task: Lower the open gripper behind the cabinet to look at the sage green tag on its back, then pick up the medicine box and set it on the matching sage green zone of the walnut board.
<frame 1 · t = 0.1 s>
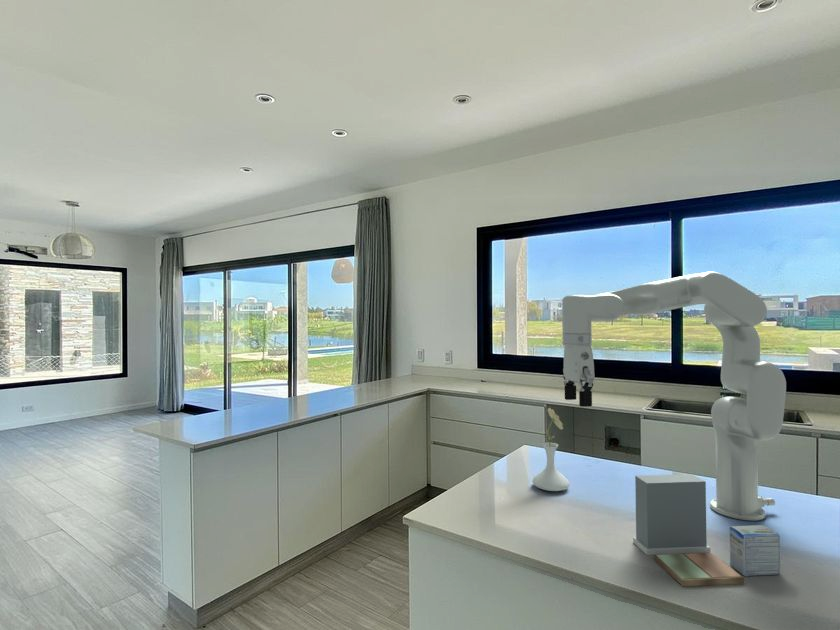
hand: (577, 402, 123), 31 cm above the counter, tool pointing down, fingers open, 9 cm apart
flower in vase: (550, 487, 145), on the counter
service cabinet: (670, 547, 106), on the counter
medicine box: (754, 571, 96), on the counter
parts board: (697, 571, 96), on the counter
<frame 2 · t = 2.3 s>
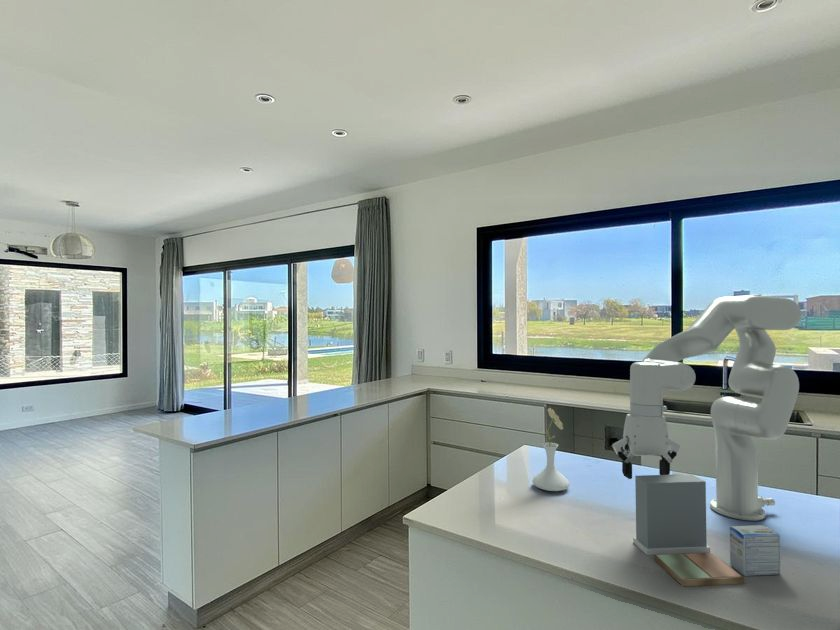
hand: (645, 477, 116), 13 cm above the counter, tool pointing down, fingers open, 9 cm apart
nothing on the counter moved.
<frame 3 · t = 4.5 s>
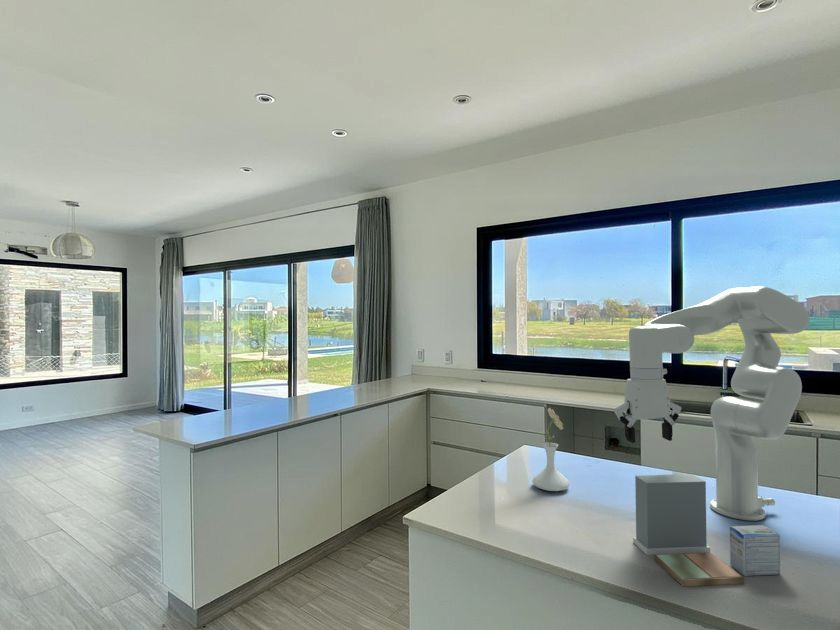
hand: (648, 440, 116), 23 cm above the counter, tool pointing down, fingers open, 9 cm apart
nothing on the counter moved.
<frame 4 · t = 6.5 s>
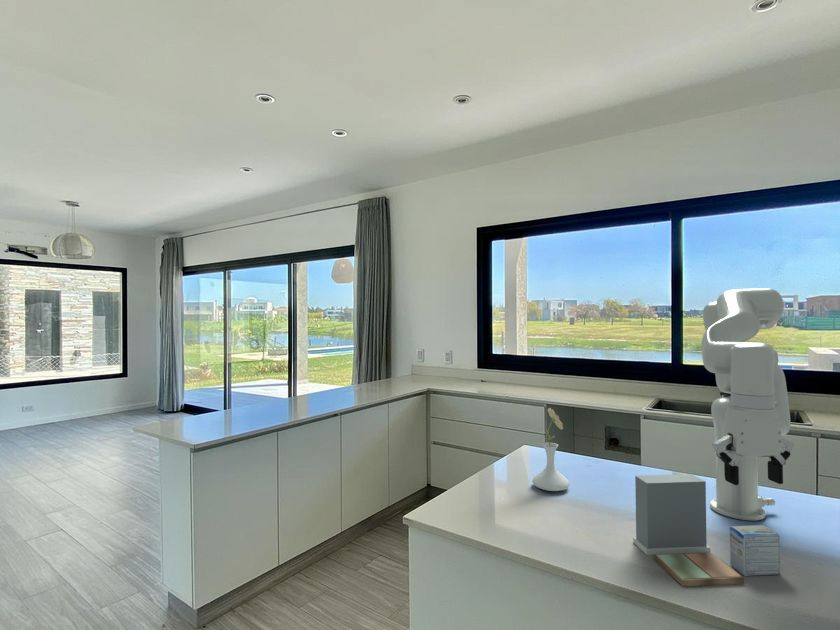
hand: (753, 482, 96), 19 cm above the counter, tool pointing down, fingers open, 9 cm apart
nothing on the counter moved.
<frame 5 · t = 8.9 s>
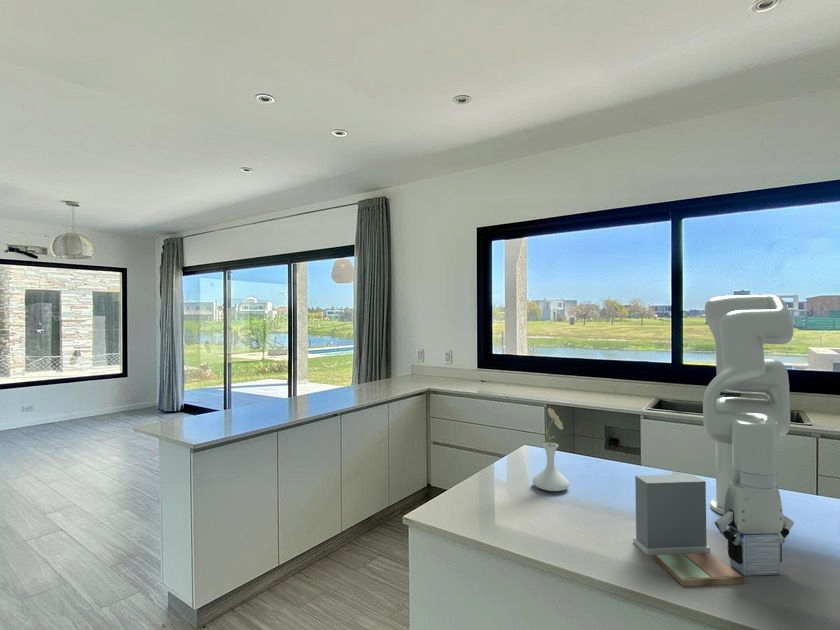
hand: (754, 559, 96), 2 cm above the counter, tool pointing down, fingers closed on medicine box, 8 cm apart
medicine box: (755, 571, 96), on the counter, touching gripper
everything else where it was.
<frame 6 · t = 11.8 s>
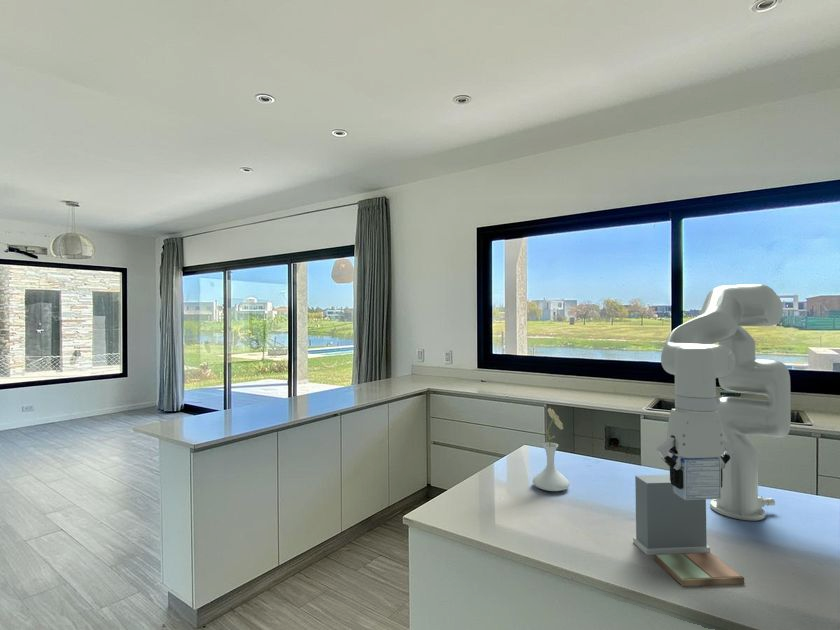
hand: (696, 485, 96), 18 cm above the counter, tool pointing down, fingers closed on medicine box, 8 cm apart
medicine box: (696, 497, 96), point 16 cm above the counter, touching gripper
everything else where it was.
when the fingers open (5 cm above the counter, at t = 15.2 s): medicine box drops 1 cm, resting on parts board.
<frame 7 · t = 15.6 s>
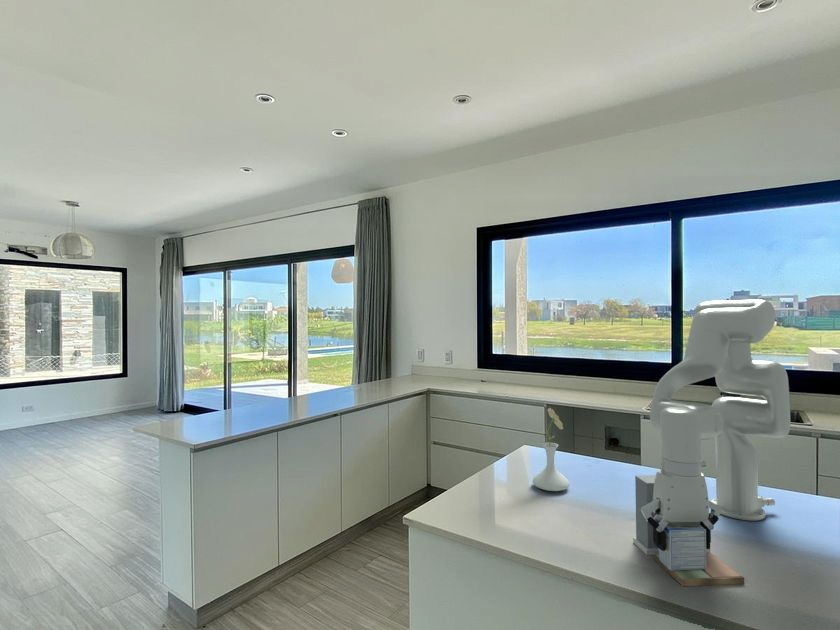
hand: (681, 546, 96), 5 cm above the counter, tool pointing down, fingers open, 9 cm apart
medicine box: (682, 566, 96), point 1 cm above the counter, touching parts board
everything else where it was.
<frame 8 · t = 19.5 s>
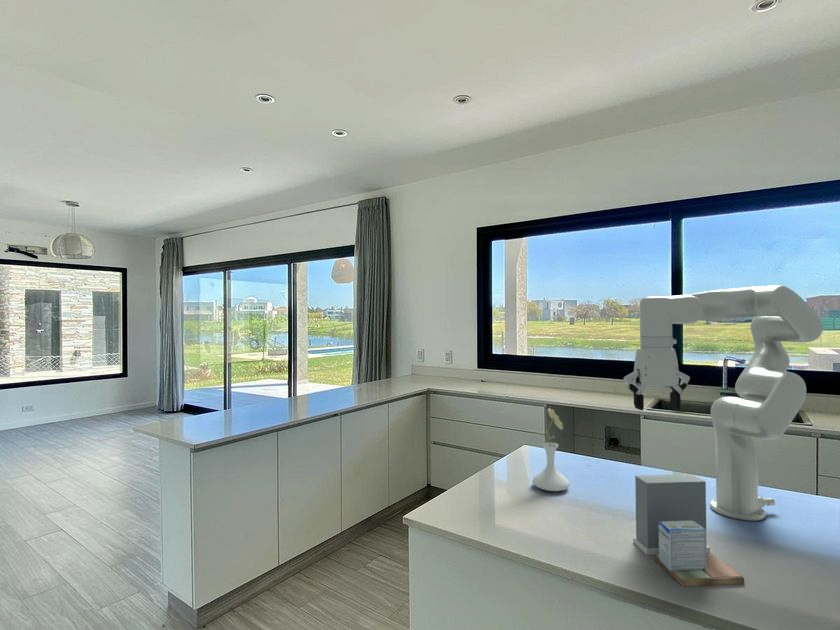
hand: (657, 408, 118), 30 cm above the counter, tool pointing down, fingers open, 9 cm apart
nothing on the counter moved.
at the end: medicine box 0.0 cm from the target spot, point 1.1 cm above the counter; medicine box tilted 0°; the gripper is holding nothing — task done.
